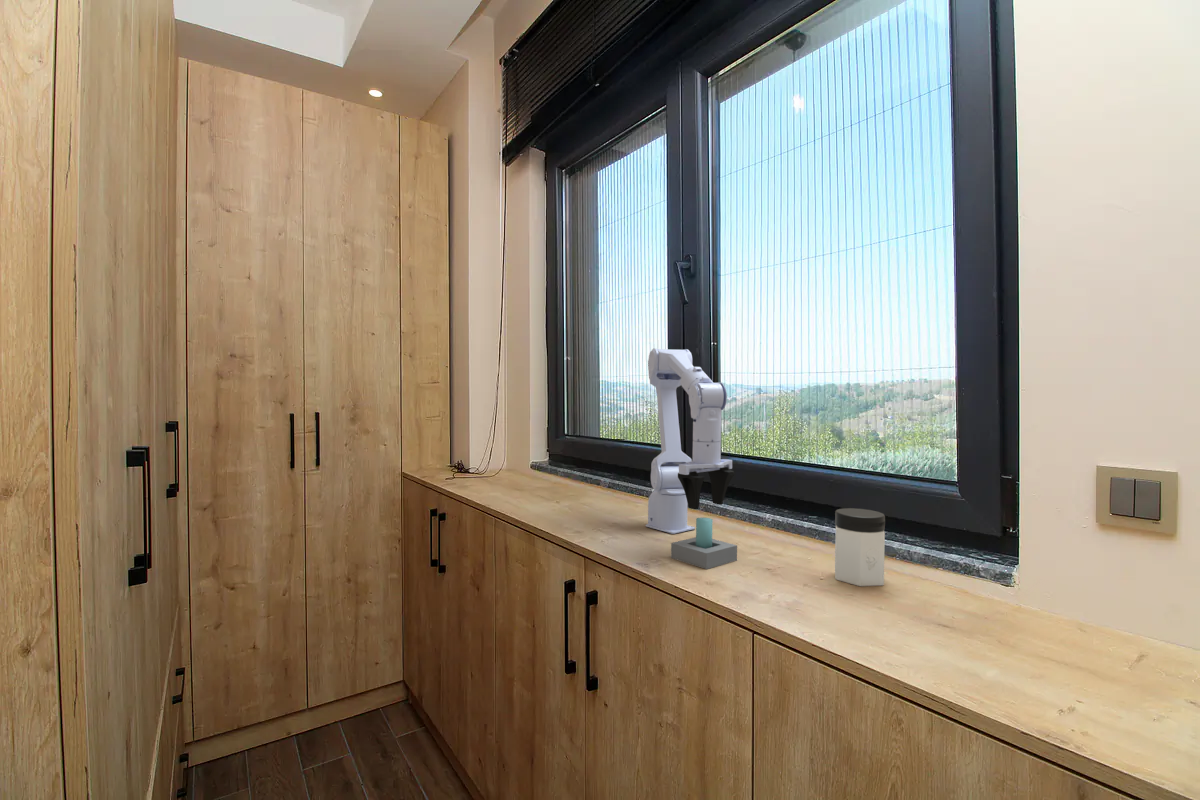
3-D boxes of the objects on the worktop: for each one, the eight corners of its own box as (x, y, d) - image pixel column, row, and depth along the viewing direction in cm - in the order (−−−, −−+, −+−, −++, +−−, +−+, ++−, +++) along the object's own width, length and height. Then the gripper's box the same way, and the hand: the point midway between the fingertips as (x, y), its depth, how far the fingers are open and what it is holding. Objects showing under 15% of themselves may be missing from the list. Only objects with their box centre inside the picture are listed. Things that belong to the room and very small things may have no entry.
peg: (692, 558, 113) (692, 518, 113) (703, 555, 115) (703, 516, 115) (704, 562, 111) (705, 521, 111) (715, 559, 113) (715, 519, 113)
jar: (848, 587, 97) (849, 518, 97) (823, 572, 105) (824, 508, 105) (896, 585, 98) (897, 517, 98) (868, 571, 106) (869, 507, 106)
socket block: (671, 557, 114) (671, 542, 114) (701, 550, 120) (701, 535, 119) (706, 569, 107) (706, 553, 107) (736, 560, 112) (737, 545, 112)
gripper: (697, 444, 109) (696, 514, 110) (744, 440, 118) (743, 505, 119) (671, 441, 115) (670, 508, 115) (717, 437, 124) (716, 499, 124)
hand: (705, 506), depth 117 cm, fingers open, 7 cm apart
